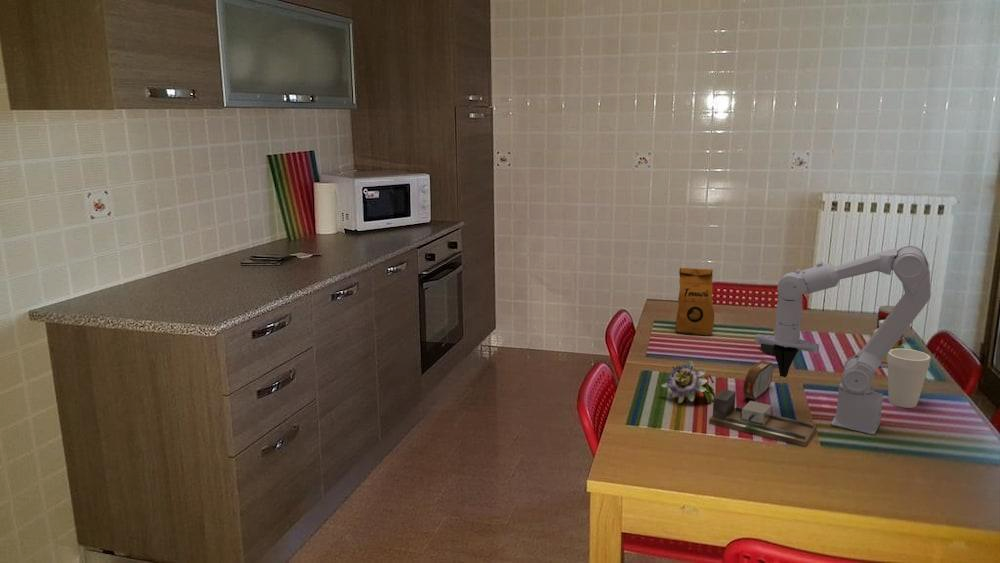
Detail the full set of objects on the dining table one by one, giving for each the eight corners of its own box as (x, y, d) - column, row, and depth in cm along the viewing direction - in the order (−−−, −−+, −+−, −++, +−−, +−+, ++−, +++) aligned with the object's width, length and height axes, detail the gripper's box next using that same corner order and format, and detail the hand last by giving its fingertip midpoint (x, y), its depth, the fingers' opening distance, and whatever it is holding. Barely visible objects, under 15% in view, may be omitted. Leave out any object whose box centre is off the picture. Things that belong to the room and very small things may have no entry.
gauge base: (816, 431, 172) (818, 407, 170) (805, 447, 164) (807, 422, 162) (723, 409, 184) (724, 387, 183) (709, 423, 176) (710, 400, 175)
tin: (762, 384, 200) (764, 355, 198) (773, 387, 198) (776, 357, 196) (740, 401, 189) (743, 370, 187) (752, 404, 187) (755, 373, 185)
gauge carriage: (770, 417, 175) (771, 405, 175) (759, 429, 169) (760, 417, 168) (746, 412, 178) (747, 400, 178) (735, 424, 172) (736, 411, 171)
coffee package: (712, 338, 240) (716, 272, 235) (673, 334, 244) (676, 270, 239) (714, 329, 249) (718, 266, 244) (677, 326, 253) (680, 264, 248)
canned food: (903, 340, 237) (907, 307, 234) (900, 347, 230) (905, 313, 228) (876, 336, 241) (880, 304, 238) (873, 343, 234) (877, 309, 232)
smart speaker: (795, 356, 223) (796, 344, 222) (765, 356, 223) (766, 344, 222) (784, 347, 231) (785, 335, 230) (756, 347, 232) (757, 335, 231)
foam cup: (889, 393, 194) (895, 346, 191) (928, 402, 187) (935, 354, 184) (876, 403, 187) (882, 354, 184) (916, 413, 181) (923, 363, 178)
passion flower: (680, 422, 190) (653, 385, 189) (690, 400, 198) (665, 365, 198) (717, 407, 183) (689, 369, 182) (726, 385, 192) (700, 348, 191)
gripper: (824, 323, 176) (818, 376, 180) (762, 314, 185) (758, 365, 188) (817, 330, 171) (811, 385, 174) (754, 320, 179) (750, 373, 182)
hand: (783, 375), depth 181 cm, fingers closed
